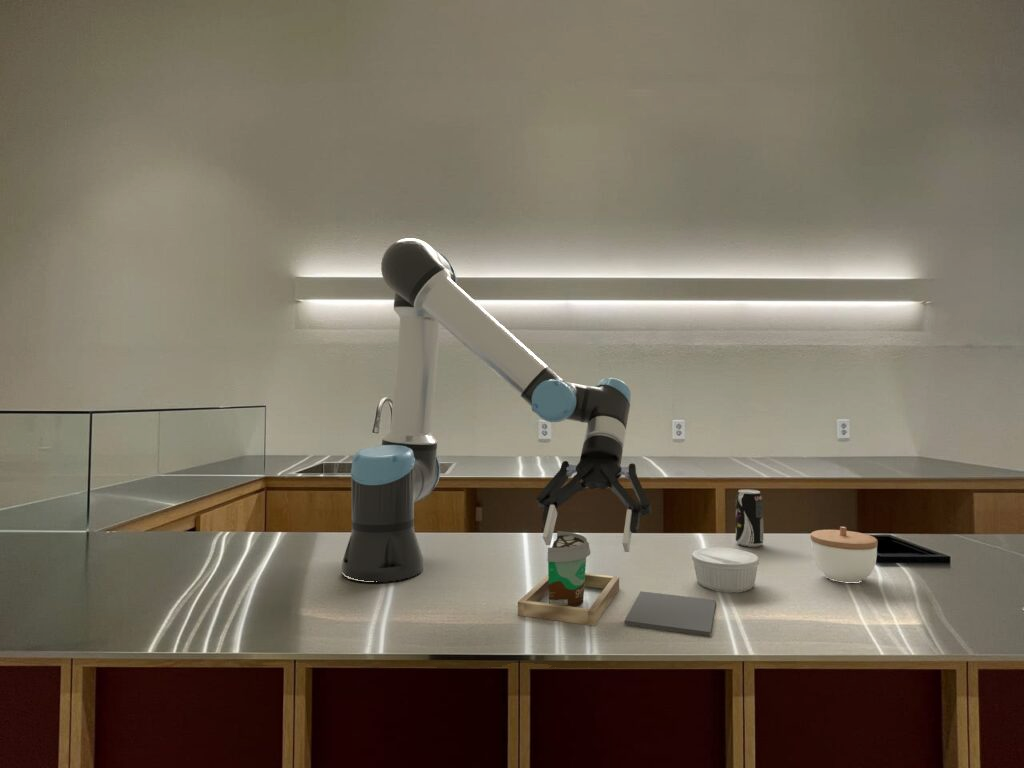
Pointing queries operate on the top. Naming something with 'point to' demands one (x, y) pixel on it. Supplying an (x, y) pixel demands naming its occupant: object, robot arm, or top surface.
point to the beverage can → (749, 518)
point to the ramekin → (725, 569)
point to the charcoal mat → (672, 613)
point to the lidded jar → (844, 554)
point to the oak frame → (567, 613)
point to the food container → (567, 569)
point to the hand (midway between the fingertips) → (585, 544)
